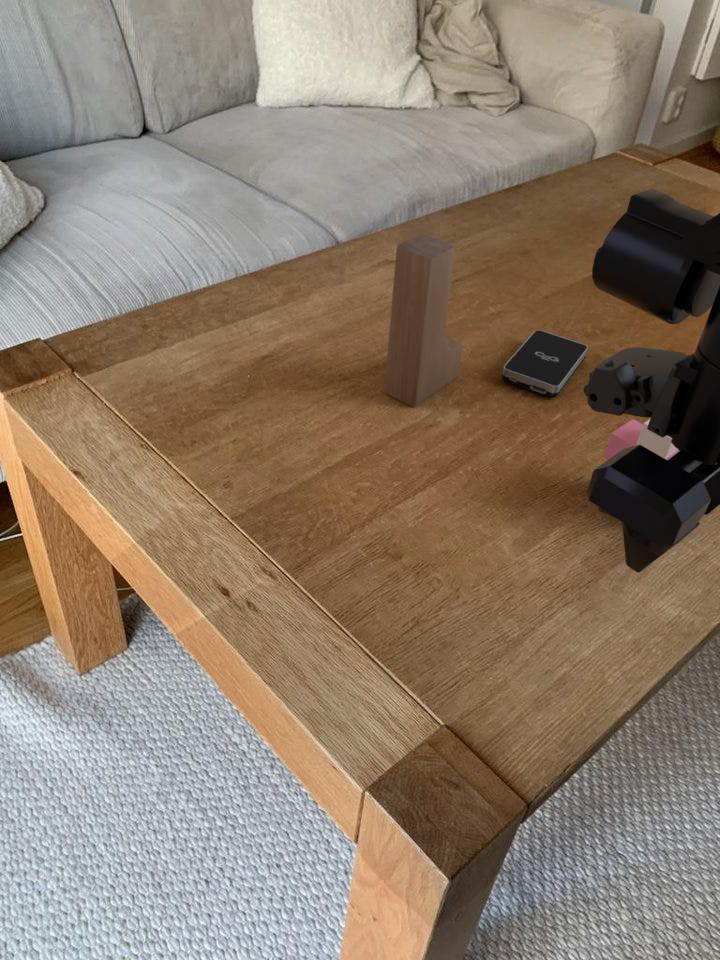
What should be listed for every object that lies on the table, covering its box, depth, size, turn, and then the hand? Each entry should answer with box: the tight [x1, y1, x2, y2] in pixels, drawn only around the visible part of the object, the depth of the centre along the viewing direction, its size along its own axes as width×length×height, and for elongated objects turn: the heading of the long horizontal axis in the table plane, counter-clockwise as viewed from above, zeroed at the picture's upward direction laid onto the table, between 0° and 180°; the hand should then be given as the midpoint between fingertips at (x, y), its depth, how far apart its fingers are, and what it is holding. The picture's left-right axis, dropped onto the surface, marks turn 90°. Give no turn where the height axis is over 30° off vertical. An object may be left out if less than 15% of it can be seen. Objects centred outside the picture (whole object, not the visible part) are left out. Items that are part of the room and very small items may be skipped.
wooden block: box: [383, 233, 463, 408], centre depth 89 cm, size 9×4×18 cm, turn 141°
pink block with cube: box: [603, 418, 679, 460], centre depth 76 cm, size 7×4×6 cm, turn 42°
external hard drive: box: [501, 329, 589, 399], centre depth 98 cm, size 7×11×2 cm, turn 149°
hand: (668, 538), depth 60 cm, fingers open, 9 cm apart
